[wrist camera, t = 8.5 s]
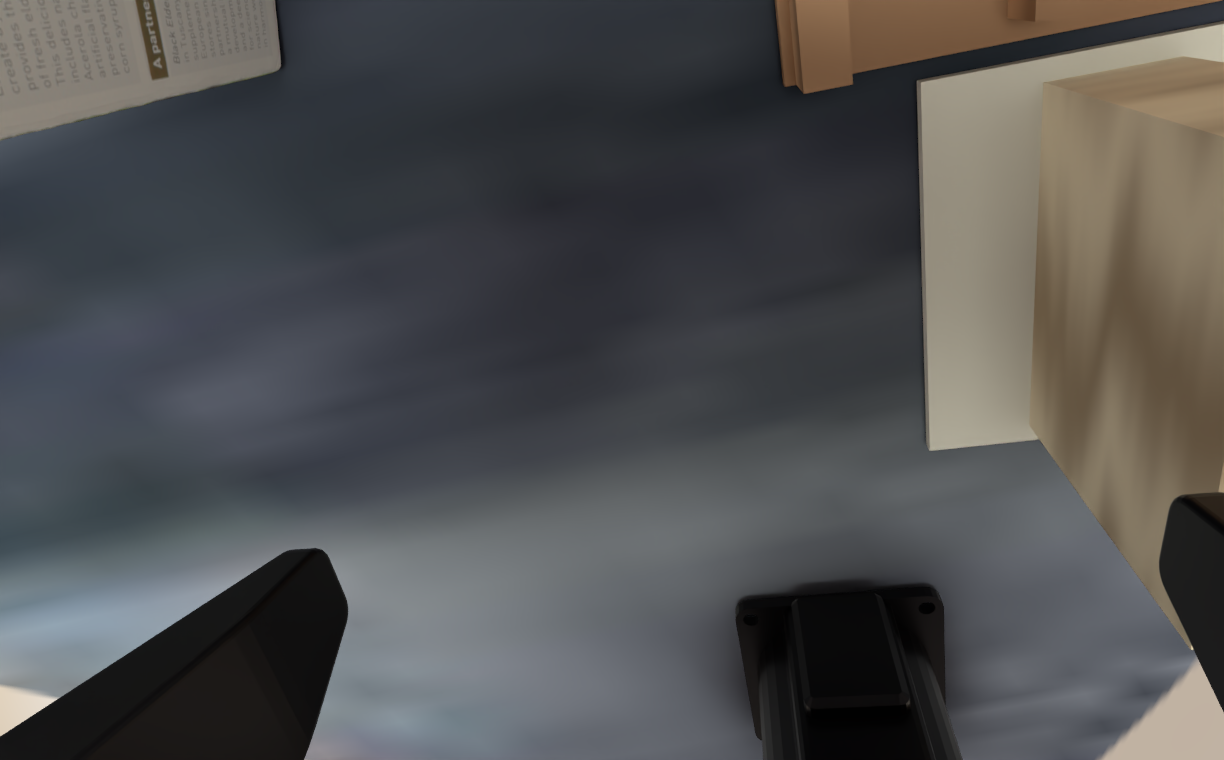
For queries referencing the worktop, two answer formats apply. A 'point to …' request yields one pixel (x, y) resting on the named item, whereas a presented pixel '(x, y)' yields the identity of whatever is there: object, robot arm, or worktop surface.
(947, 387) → the cream rectangular plate
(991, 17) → the rack
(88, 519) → the worktop surface
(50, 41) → the syrup box
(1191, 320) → the birch board
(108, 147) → the worktop surface
